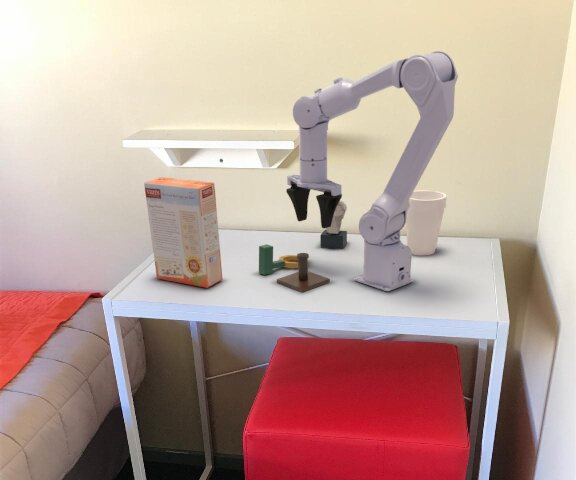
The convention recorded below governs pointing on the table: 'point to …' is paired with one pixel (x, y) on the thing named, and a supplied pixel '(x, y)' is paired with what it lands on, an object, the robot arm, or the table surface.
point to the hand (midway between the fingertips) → (314, 223)
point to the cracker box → (184, 231)
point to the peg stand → (303, 276)
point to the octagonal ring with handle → (267, 261)
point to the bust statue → (335, 230)
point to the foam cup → (424, 221)
